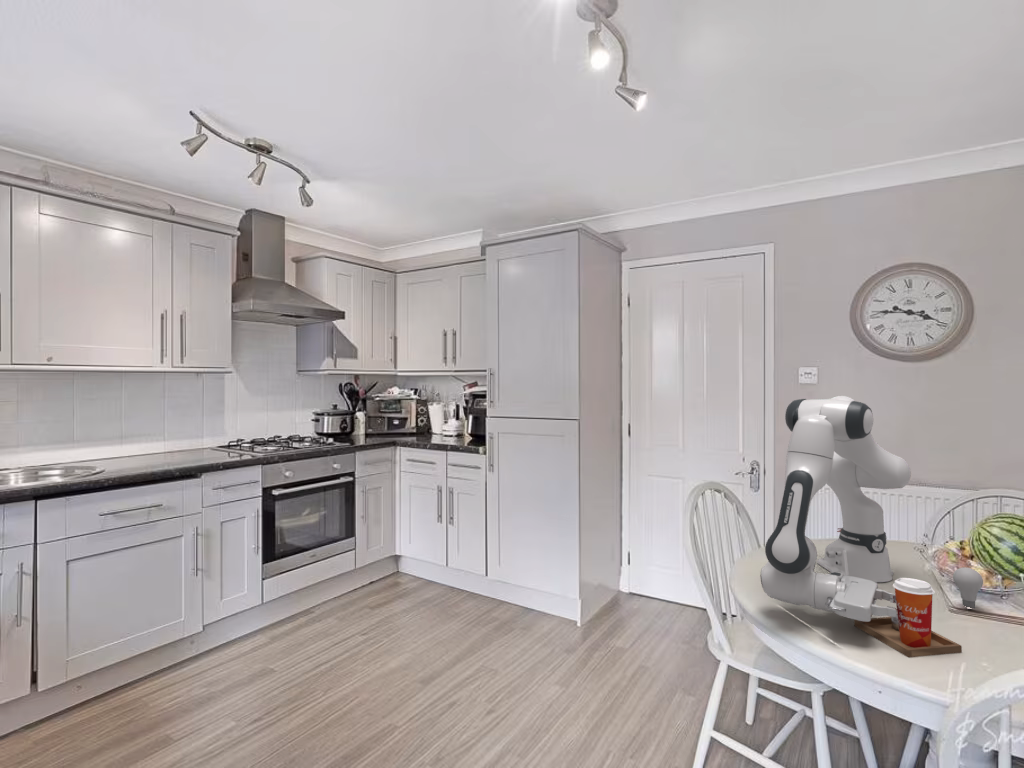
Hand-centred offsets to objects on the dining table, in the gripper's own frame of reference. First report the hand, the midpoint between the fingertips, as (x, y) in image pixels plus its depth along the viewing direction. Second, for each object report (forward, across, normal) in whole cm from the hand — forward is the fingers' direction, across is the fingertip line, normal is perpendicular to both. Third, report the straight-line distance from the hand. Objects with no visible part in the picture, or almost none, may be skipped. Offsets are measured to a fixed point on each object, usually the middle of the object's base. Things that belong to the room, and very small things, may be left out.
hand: (897, 605), depth 126 cm
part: (0, +6, +8) cm, 10 cm away
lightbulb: (+14, +32, +8) cm, 36 cm away
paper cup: (+3, -1, +8) cm, 9 cm away
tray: (+1, +1, +8) cm, 8 cm away
